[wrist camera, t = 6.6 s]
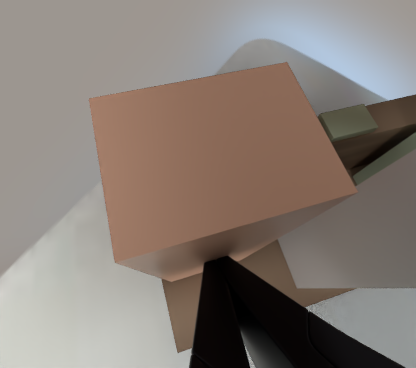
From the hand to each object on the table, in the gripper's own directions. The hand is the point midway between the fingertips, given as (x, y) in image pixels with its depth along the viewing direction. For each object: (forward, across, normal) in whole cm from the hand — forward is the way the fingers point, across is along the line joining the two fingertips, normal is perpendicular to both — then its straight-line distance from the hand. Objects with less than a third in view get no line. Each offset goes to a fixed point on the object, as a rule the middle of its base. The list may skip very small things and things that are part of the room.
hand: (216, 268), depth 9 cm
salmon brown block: (+5, 0, +3) cm, 6 cm away
